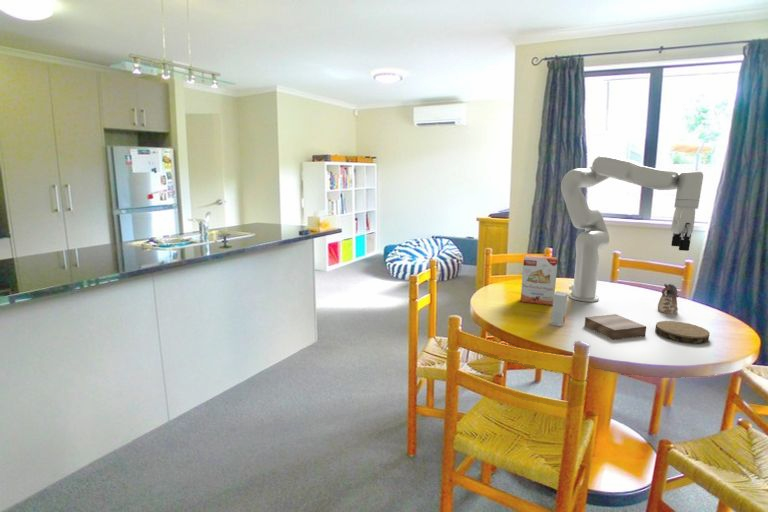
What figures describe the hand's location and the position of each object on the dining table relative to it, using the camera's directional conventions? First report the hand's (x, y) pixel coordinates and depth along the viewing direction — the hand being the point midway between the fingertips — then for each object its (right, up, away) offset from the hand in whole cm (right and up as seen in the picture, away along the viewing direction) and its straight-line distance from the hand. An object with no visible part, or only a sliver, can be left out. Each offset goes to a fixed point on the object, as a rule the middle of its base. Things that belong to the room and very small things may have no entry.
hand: (679, 248), depth 166 cm
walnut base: (-30, -31, -9) cm, 44 cm away
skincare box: (-48, -29, -1) cm, 56 cm away
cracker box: (-46, -24, +26) cm, 58 cm away
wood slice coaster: (-8, -32, -13) cm, 36 cm away
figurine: (+5, -27, +14) cm, 31 cm away
